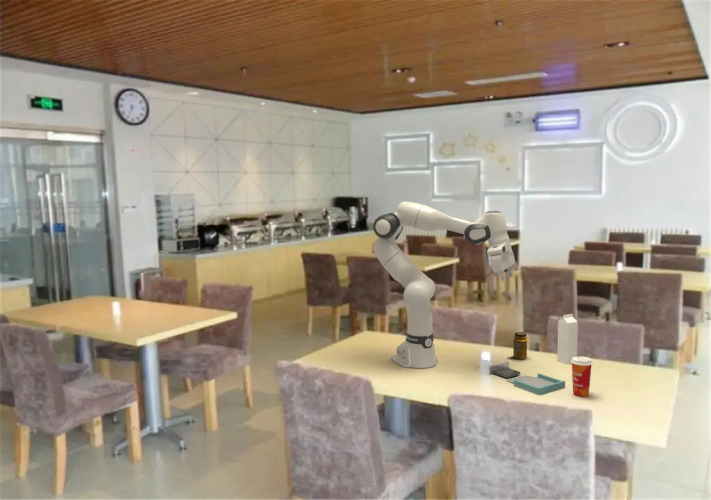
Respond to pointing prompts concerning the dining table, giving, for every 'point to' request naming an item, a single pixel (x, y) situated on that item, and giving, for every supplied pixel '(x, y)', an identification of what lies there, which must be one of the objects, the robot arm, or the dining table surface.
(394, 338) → the dining table surface
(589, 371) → the paper cup
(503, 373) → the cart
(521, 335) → the condiment
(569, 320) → the milk
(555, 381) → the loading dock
